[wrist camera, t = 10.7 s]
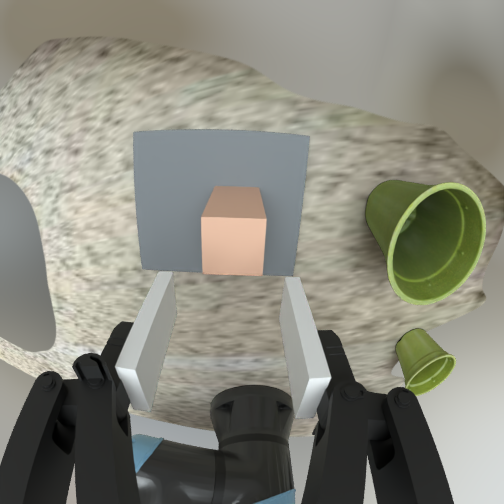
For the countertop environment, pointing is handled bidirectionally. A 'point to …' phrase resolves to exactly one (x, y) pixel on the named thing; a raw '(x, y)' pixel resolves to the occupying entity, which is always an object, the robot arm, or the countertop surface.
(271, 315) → the countertop surface
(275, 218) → the mat
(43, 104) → the countertop surface
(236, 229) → the block
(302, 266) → the countertop surface
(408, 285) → the plant pot
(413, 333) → the plant pot
